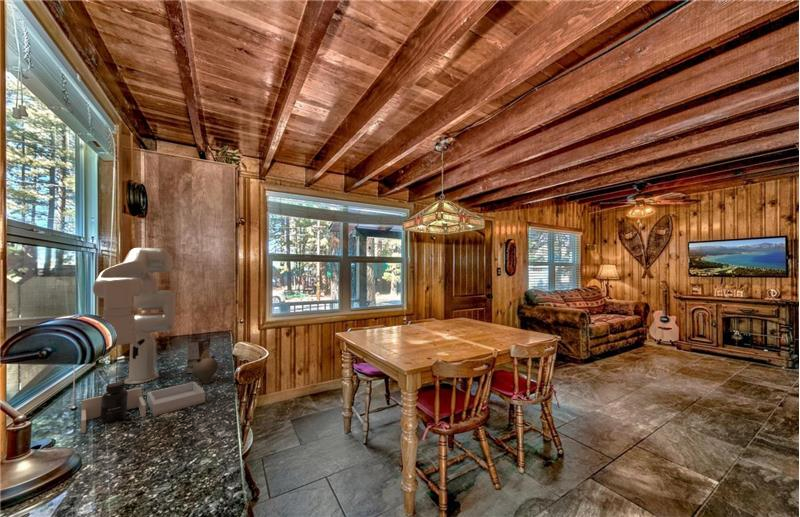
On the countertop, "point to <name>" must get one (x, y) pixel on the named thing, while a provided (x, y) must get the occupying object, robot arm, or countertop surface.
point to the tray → (175, 398)
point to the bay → (93, 406)
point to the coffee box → (197, 351)
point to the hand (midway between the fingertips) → (116, 361)
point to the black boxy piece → (114, 403)
